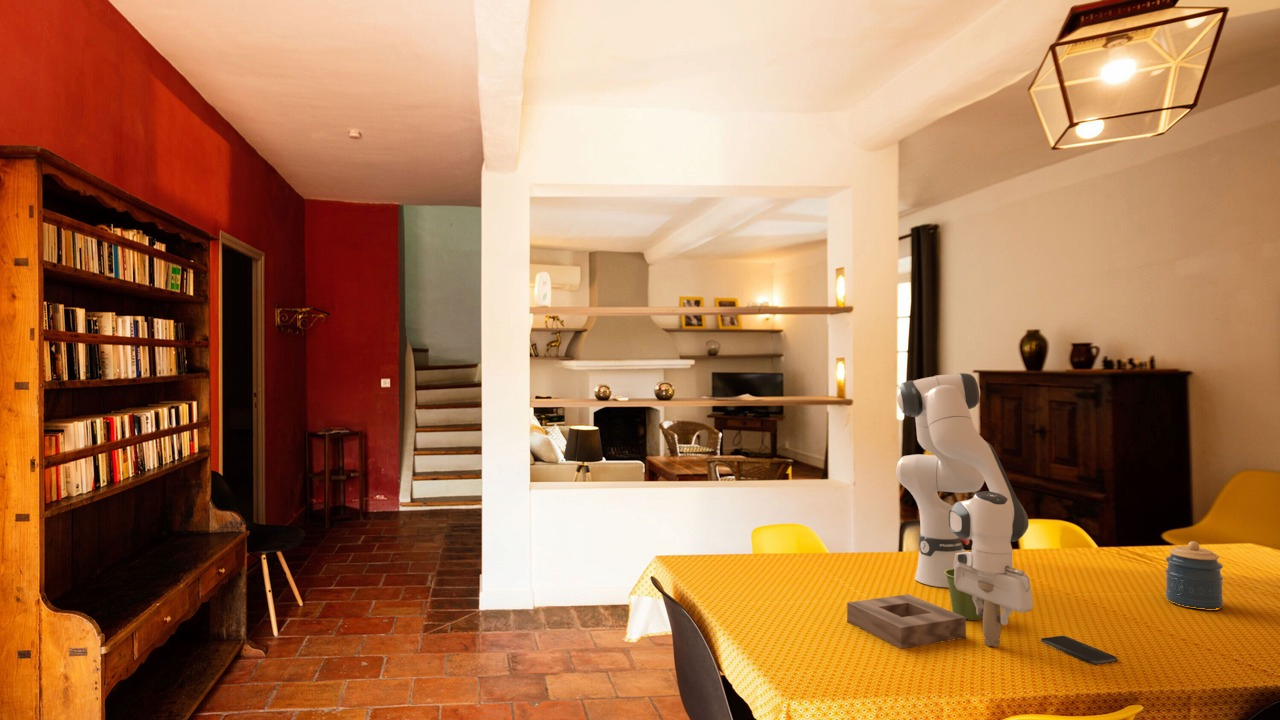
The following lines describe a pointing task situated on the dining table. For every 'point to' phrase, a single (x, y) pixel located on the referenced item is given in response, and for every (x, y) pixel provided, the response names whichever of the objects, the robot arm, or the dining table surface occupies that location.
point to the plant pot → (961, 599)
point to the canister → (1194, 577)
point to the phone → (1079, 650)
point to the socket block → (906, 620)
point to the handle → (990, 618)
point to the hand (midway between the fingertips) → (991, 619)
